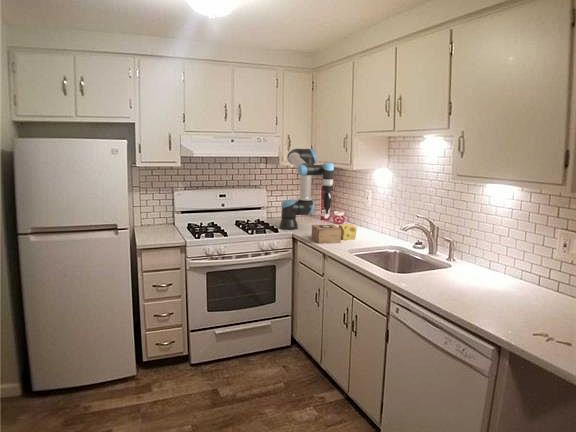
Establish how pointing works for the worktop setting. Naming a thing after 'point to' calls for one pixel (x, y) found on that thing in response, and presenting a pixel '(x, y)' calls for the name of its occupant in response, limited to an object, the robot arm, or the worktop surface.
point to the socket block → (326, 234)
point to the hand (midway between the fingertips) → (326, 218)
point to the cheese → (348, 232)
